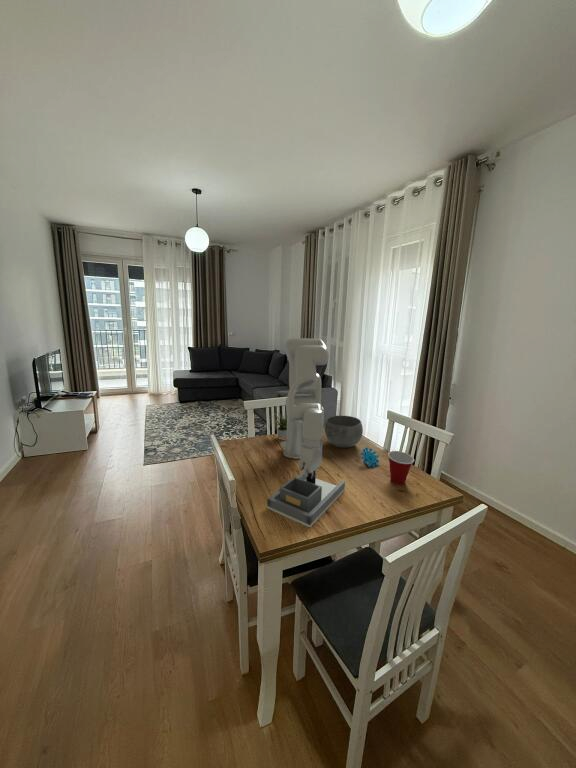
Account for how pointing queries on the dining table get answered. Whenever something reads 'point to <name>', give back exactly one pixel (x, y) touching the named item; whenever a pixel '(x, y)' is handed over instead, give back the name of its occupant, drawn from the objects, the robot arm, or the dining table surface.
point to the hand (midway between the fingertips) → (310, 485)
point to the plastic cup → (399, 466)
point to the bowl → (343, 431)
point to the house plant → (282, 426)
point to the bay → (308, 519)
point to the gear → (370, 457)
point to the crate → (301, 494)
